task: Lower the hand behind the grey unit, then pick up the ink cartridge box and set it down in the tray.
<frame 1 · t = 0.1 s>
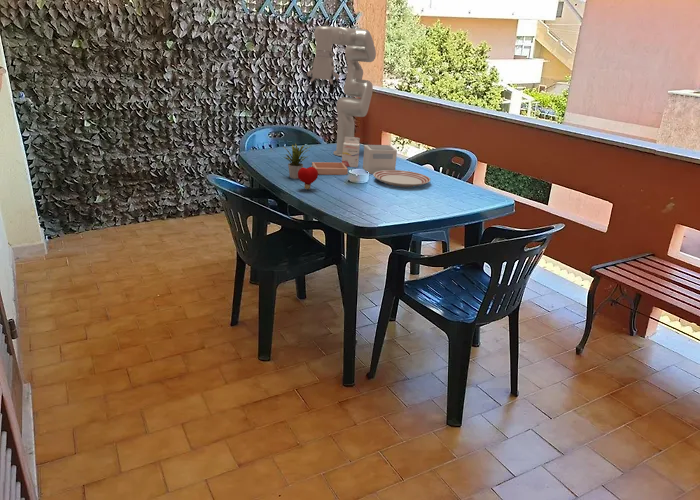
hand: (322, 91, 263), 37 cm above the table, tool pointing down, fingers open, 9 cm apart
ink cartridge box: (349, 166, 282), on the table
tray: (329, 171, 268), on the table
red heart ornament: (307, 190, 236), on the table
house plant: (298, 178, 254), on the table
dinner plate: (401, 183, 258), on the table
grey unit: (378, 170, 275), on the table
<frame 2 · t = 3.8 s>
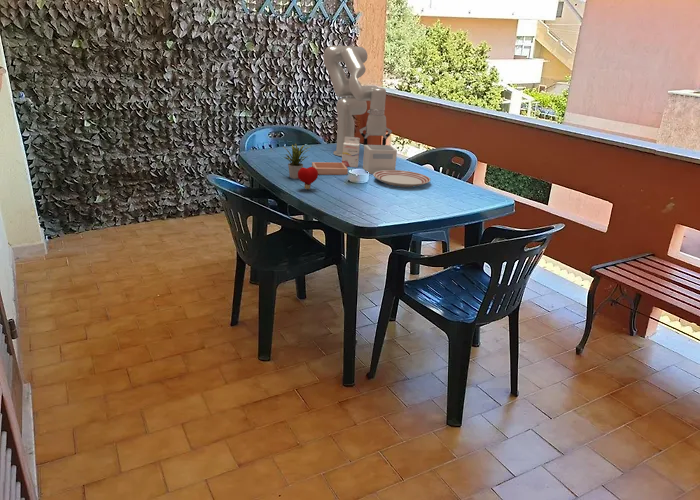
hand: (374, 145, 282), 10 cm above the table, tool pointing down, fingers open, 9 cm apart
nothing on the table moved.
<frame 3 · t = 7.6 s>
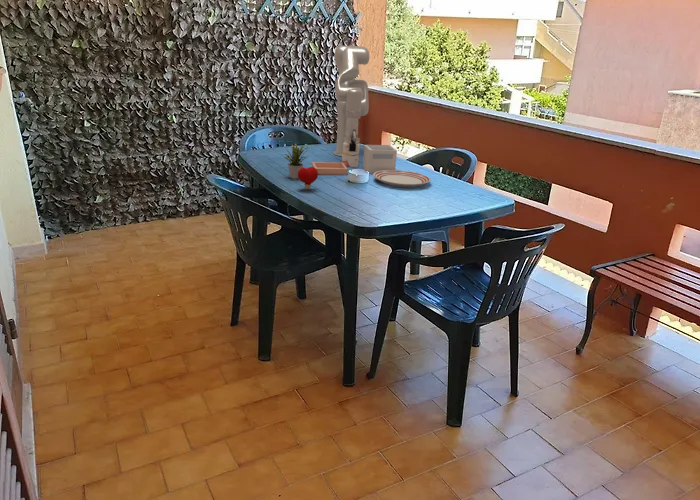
hand: (350, 149, 278), 9 cm above the table, tool pointing down, fingers closed on ink cartridge box, 6 cm apart
ink cartridge box: (349, 166, 282), on the table, touching gripper
everything else where it was.
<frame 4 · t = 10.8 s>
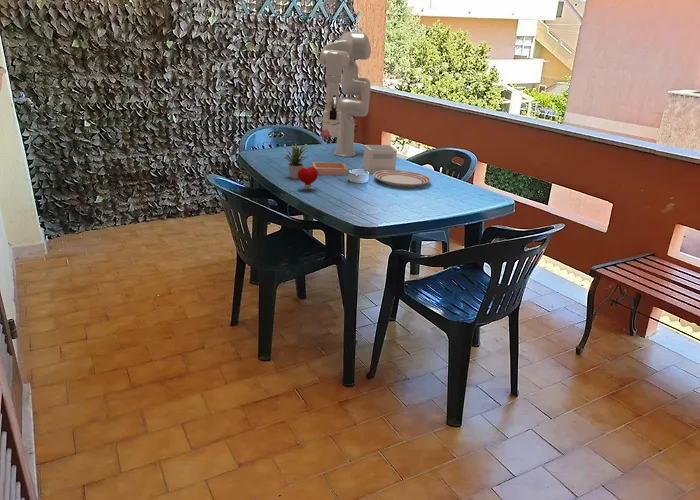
hand: (331, 118, 258), 26 cm above the table, tool pointing down, fingers closed on ink cartridge box, 6 cm apart
ink cartridge box: (331, 136, 261), point 18 cm above the table, touching gripper
everything else where it was.
when the fingers open (11 cm above the table, at t = 13.9 s): ink cartridge box drops 2 cm, resting on tray.
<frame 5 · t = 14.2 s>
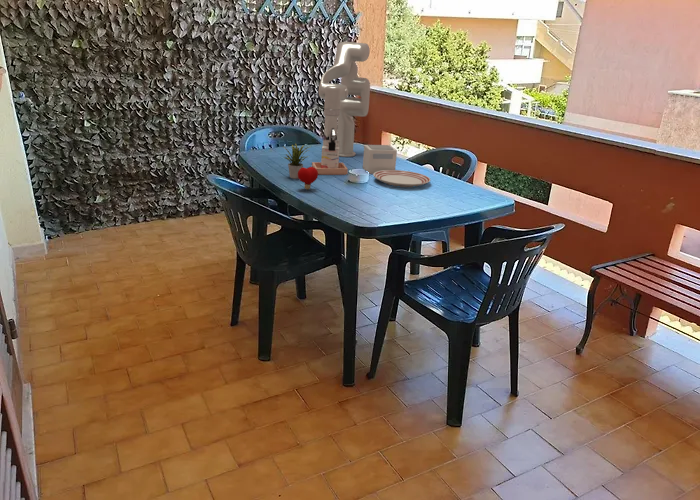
hand: (330, 148, 264), 12 cm above the table, tool pointing down, fingers open, 8 cm apart
ink cartridge box: (329, 170, 268), resting on tray
everything else where it was.
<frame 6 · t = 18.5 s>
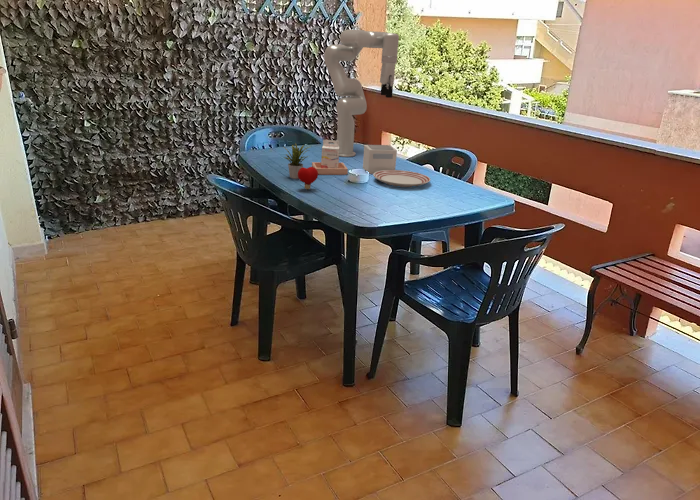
hand: (386, 96, 269), 36 cm above the table, tool pointing down, fingers open, 9 cm apart
nothing on the table moved.
at the end: ink cartridge box inside the target area on the tray (0.1 cm from its centre), point 0.4 cm above the tray's base; ink cartridge box tilted 0°; the gripper is holding nothing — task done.
